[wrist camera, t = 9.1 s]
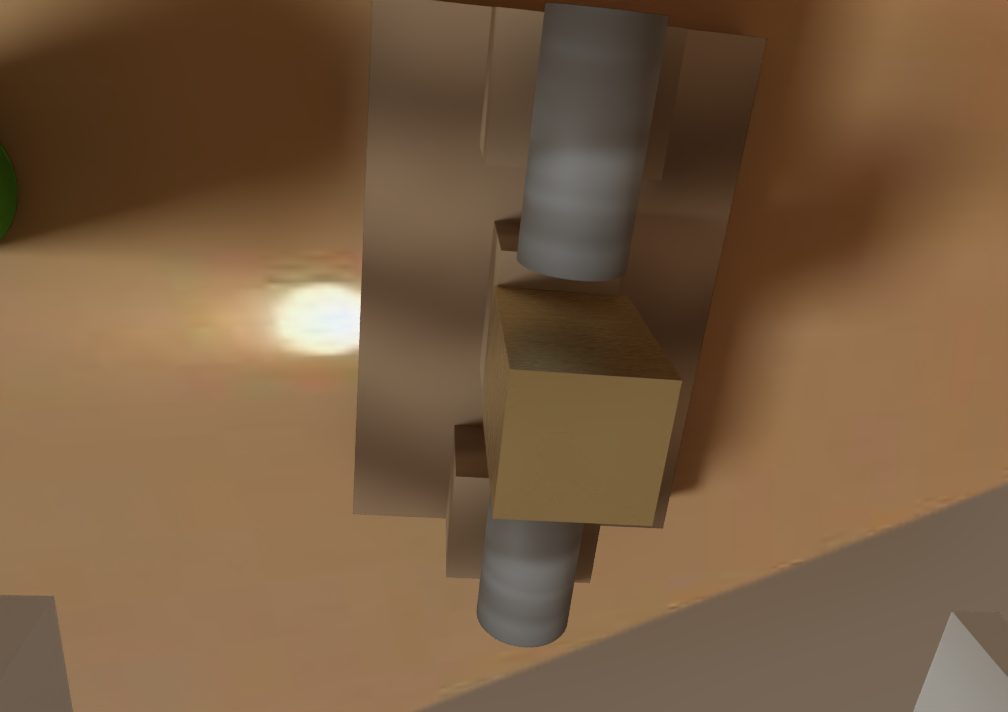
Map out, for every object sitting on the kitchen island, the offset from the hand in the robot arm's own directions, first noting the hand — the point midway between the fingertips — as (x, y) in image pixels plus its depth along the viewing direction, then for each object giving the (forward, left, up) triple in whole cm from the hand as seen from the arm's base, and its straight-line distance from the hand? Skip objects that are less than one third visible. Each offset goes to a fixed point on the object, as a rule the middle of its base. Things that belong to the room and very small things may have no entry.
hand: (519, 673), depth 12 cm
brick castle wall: (0, +2, -19) cm, 19 cm away
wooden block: (0, +2, -13) cm, 14 cm away
